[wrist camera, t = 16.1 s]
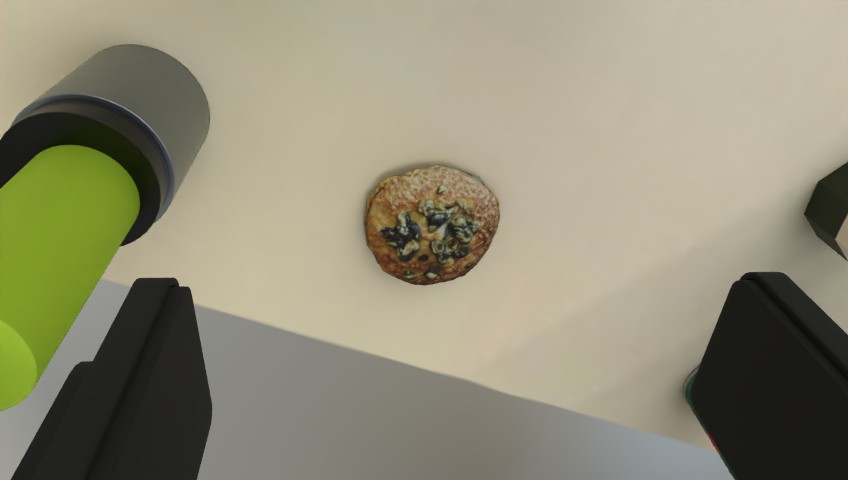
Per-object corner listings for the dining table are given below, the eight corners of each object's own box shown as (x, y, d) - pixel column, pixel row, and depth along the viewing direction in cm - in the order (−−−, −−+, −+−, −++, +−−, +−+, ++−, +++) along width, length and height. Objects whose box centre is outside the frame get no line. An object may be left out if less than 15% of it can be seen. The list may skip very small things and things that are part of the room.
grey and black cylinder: (60, 42, 40) (-38, 104, 30) (200, 46, 41) (150, 108, 31) (92, 165, 45) (16, 255, 35) (217, 166, 46) (178, 254, 36)
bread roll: (421, 298, 54) (423, 328, 50) (336, 209, 50) (329, 234, 46) (522, 223, 52) (534, 249, 47) (440, 124, 48) (445, 141, 43)
